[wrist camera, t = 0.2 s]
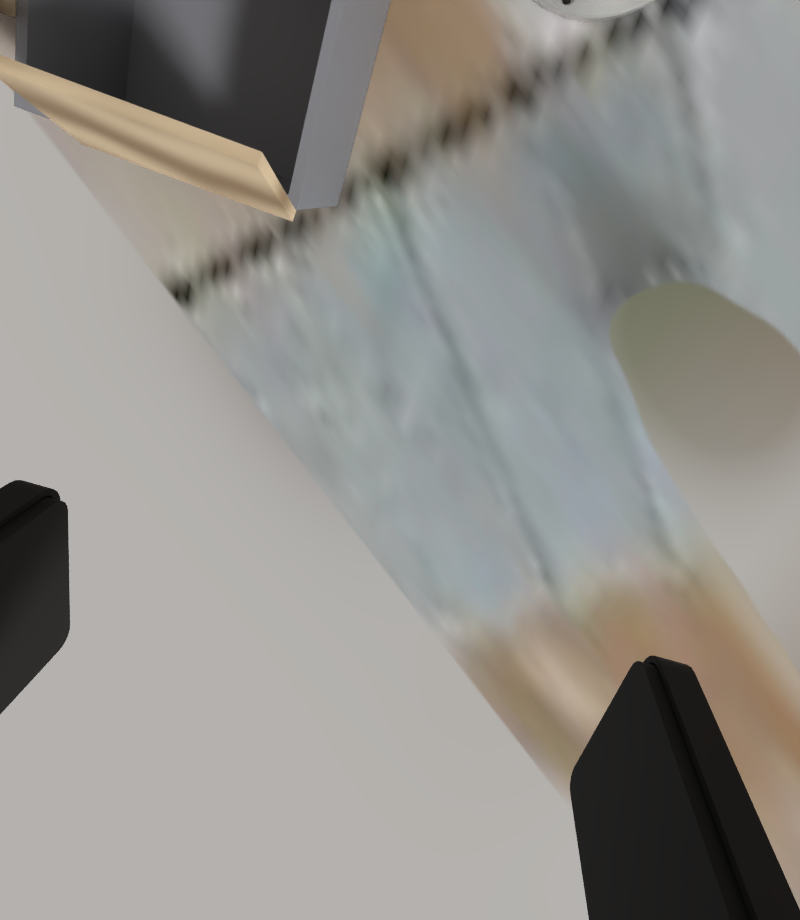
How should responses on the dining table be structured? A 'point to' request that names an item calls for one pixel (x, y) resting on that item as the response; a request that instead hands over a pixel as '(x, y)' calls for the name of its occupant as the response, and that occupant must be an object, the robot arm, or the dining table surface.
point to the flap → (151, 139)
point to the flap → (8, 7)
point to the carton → (224, 71)
